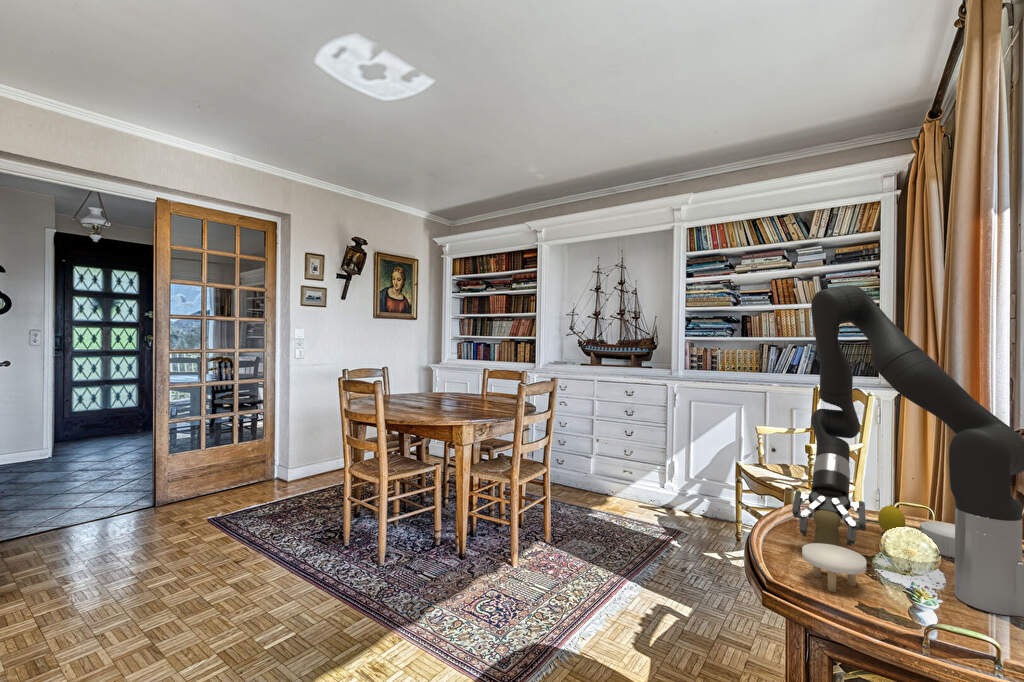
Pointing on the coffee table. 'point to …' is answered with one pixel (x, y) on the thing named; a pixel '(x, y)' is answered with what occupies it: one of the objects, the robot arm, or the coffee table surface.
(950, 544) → the ramekin
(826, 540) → the cork
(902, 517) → the lemon
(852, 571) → the stool
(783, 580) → the coffee table surface
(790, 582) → the coffee table surface
